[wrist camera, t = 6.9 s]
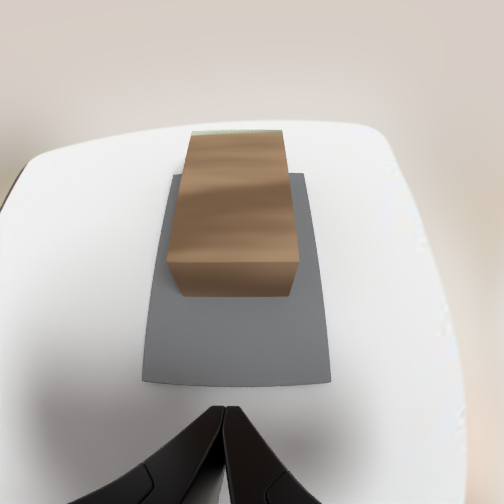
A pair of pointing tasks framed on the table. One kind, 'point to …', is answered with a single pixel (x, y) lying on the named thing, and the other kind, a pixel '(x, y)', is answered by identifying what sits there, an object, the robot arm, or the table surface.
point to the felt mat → (239, 322)
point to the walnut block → (234, 217)
